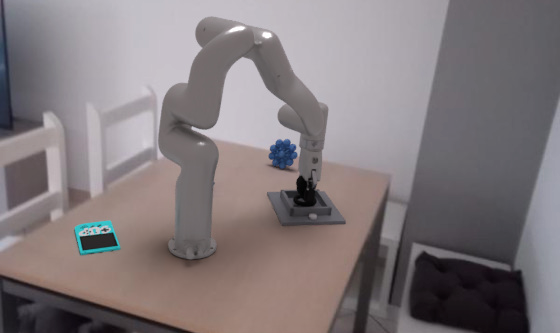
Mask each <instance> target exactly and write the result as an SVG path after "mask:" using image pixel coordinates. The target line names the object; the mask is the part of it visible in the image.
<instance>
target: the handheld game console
mask: <svg viewBox="0 0 560 333" xmlns="http://www.w3.org/2000/svg"><path fill="white" fill-rule="evenodd" d="M74 233H75V238H76V241H77V242H78V243H77V246H78V251H79V255H80V256H86V255H94V254H99V253H107V252H114V251H119V250H121V245H120V243H119V239H118V237H117V234H116V232H115V229H114V226H113V223H112V220H102V221H100V220H99V221H94V222H85V223H80V224H77V225H76V226H74Z"/></svg>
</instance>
